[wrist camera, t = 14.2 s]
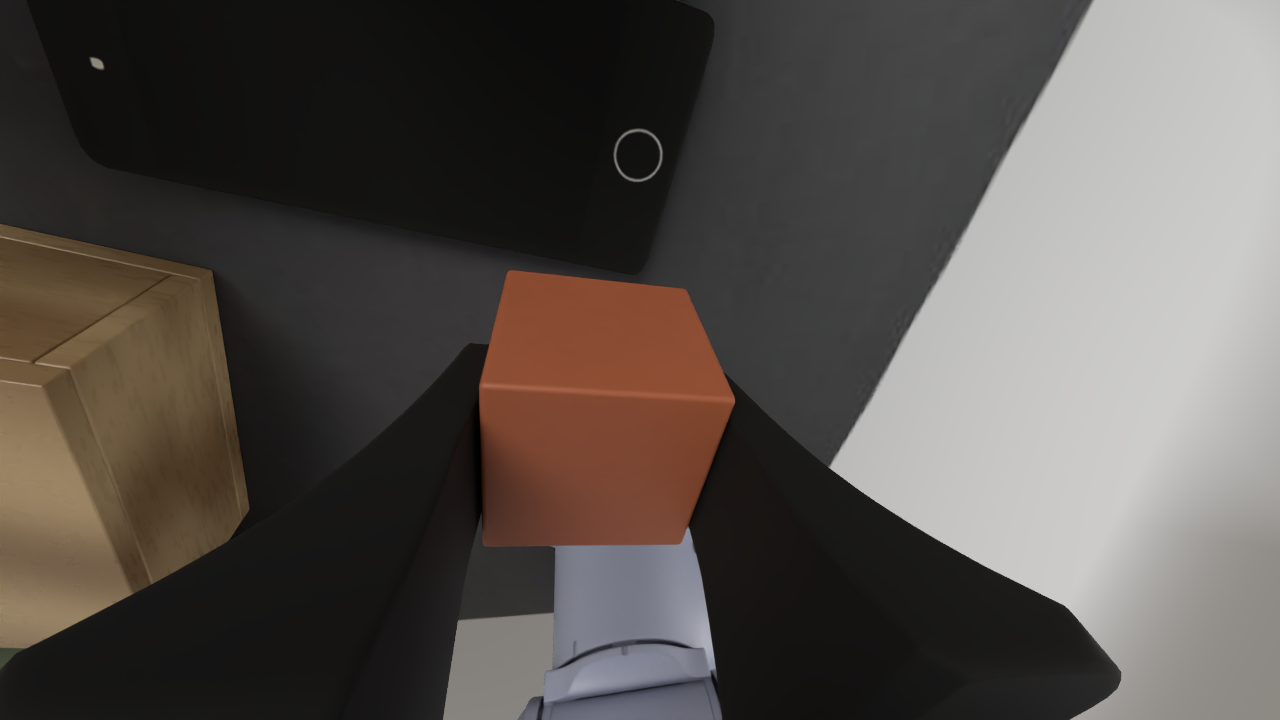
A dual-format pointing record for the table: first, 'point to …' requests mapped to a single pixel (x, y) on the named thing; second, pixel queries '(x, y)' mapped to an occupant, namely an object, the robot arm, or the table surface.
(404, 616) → the robot arm
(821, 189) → the table surface
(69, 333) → the cabinet
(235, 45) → the cell phone
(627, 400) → the block
